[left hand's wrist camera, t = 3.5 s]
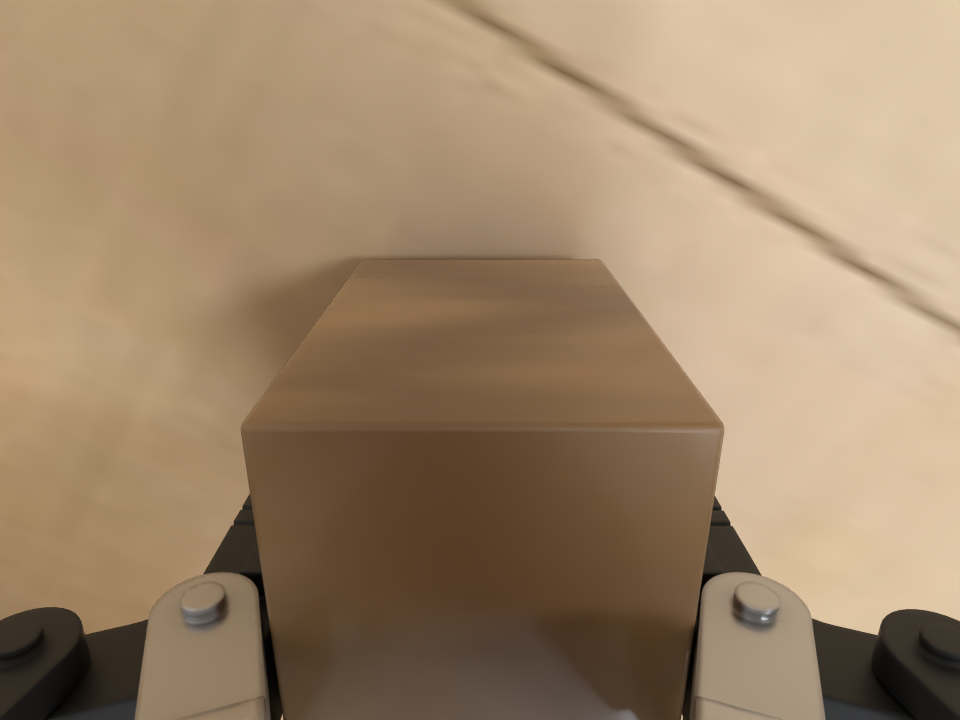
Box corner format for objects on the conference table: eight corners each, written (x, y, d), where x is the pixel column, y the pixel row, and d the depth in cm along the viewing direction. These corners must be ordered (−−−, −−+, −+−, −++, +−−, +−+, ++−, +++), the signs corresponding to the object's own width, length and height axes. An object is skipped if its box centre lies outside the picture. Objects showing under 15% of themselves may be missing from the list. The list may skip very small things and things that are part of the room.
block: (602, 258, 13) (728, 424, 7) (581, 562, 16) (656, 902, 9) (360, 258, 13) (237, 424, 7) (380, 562, 16) (308, 902, 9)
